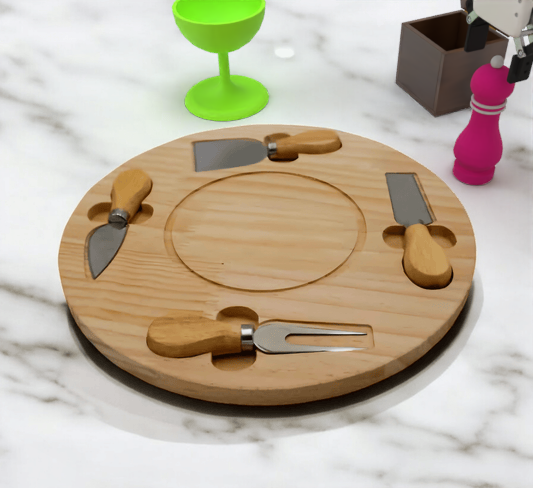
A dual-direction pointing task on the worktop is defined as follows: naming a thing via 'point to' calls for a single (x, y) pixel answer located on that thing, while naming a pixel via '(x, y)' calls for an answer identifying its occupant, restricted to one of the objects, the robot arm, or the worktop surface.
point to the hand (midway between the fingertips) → (494, 65)
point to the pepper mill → (483, 125)
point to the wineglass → (222, 55)
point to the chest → (442, 61)
